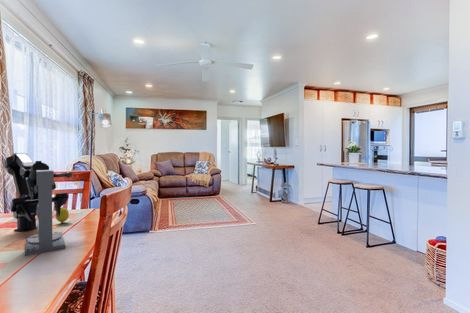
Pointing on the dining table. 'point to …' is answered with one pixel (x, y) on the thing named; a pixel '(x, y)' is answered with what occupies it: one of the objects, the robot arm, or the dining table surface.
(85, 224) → the dining table surface
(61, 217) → the lemon
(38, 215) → the silver metal bottle
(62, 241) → the stand
